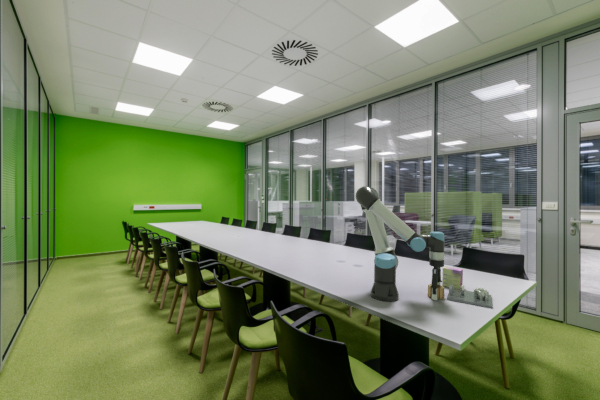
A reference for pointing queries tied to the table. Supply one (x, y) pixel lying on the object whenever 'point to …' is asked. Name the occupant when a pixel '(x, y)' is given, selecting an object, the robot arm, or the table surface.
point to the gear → (439, 291)
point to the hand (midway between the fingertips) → (436, 296)
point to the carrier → (470, 296)
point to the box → (452, 277)
